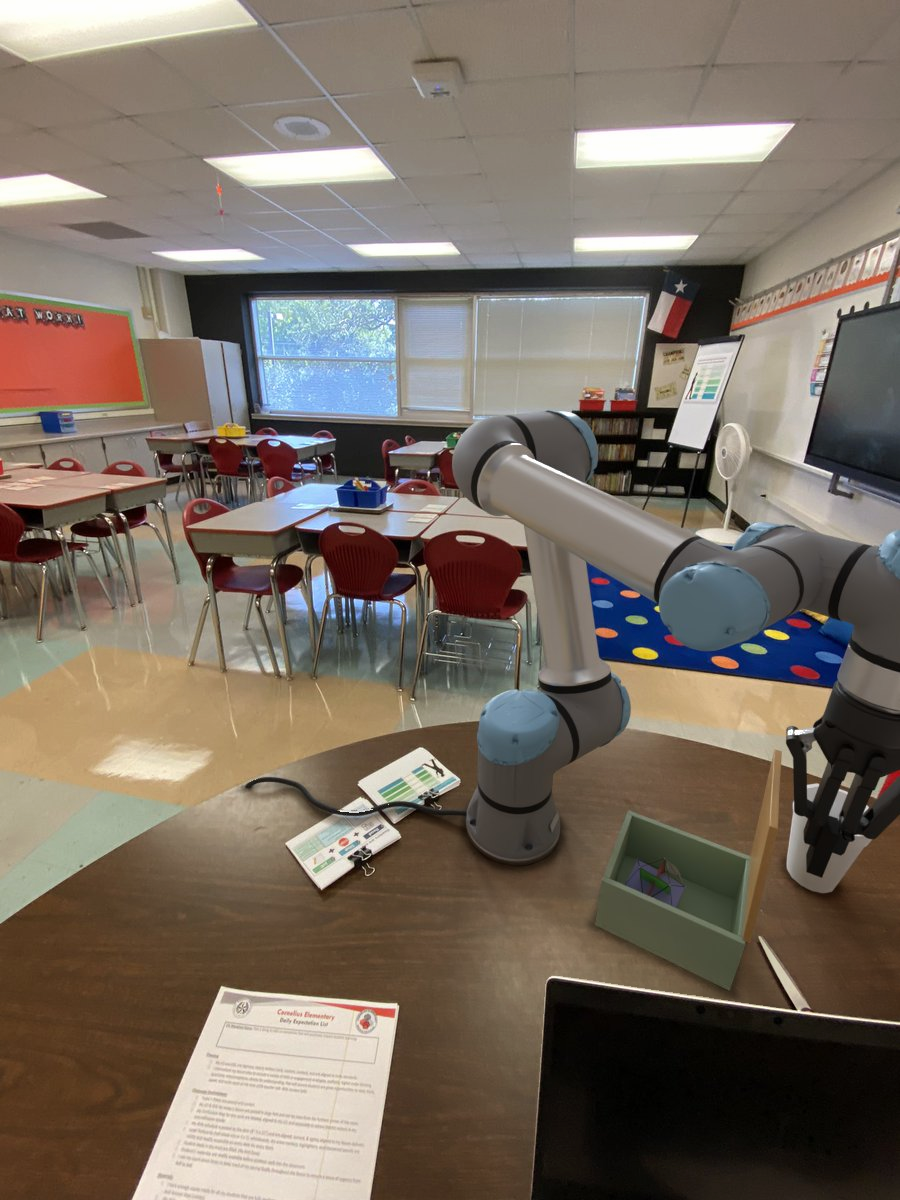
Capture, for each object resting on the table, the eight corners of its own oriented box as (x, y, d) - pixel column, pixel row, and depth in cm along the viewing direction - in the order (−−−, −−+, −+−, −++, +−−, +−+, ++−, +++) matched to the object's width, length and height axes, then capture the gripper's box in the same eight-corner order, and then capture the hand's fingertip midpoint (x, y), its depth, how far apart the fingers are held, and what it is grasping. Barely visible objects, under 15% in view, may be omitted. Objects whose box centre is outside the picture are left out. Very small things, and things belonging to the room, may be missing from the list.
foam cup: (760, 859, 82) (781, 795, 77) (802, 839, 86) (824, 776, 80) (820, 913, 74) (848, 845, 69) (864, 888, 78) (894, 822, 72)
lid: (769, 826, 55) (778, 828, 55) (774, 748, 66) (781, 750, 65) (742, 940, 62) (750, 943, 61) (750, 853, 72) (757, 856, 72)
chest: (594, 925, 73) (601, 880, 70) (620, 852, 84) (628, 809, 80) (729, 991, 65) (745, 944, 62) (739, 901, 76) (753, 857, 72)
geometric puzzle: (663, 935, 69) (685, 875, 69) (613, 902, 73) (634, 846, 74) (674, 924, 75) (694, 869, 75) (627, 895, 79) (646, 843, 79)
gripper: (961, 692, 51) (880, 866, 61) (802, 657, 57) (751, 820, 67) (982, 737, 46) (889, 920, 56) (803, 693, 52) (747, 865, 62)
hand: (813, 865), depth 61 cm, fingers closed
